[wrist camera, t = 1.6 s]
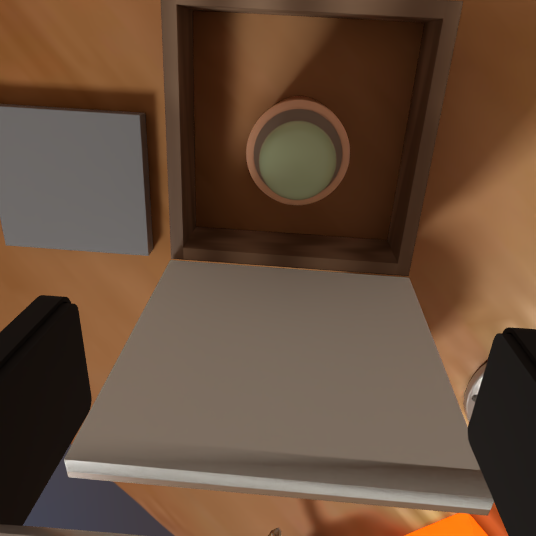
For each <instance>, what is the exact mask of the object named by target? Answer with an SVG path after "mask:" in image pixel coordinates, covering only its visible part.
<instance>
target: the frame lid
mask: <svg viewBox="0 0 536 536" xmlns="http://www.w3.org/2000/svg"><path fill="white" fill-rule="evenodd" d="M64 461H65V465H66V469H67V473H68V477H73V478H84V479H95V480H105V481H116V482H127V483H138V484H149V485H160V486H171V487H182V488H193V489H204V490H215V491H226V492H236V493H247V494H258V495H269V496H280V497H291V498H302V499H313V500H324V501H335V502H346V503H357V504H368V505H378V506H389V507H400V508H411V509H422V510H433V511H444V512H455V513H466V514H477V515H488V514H489V511H490V509H491V507H492V505H493V503H494V500H493V498H492V495H491V493H490V491H489V488H488V486H487V484H486V481H485V479H484V477H483V474H482V472H481V470H480V467H479V465H478V463H477V460H476V458H475V456H474V453H473V451H472V449H471V446H470V444H469V440H468V427H467V424H466V422H465V419H464V417H463V414H462V412H461V409H460V407H459V404H458V401H457V399H456V396H455V394H454V391H453V389H452V386H451V383H450V381H449V378H448V376H447V373H446V371H445V368H444V365H443V363H442V360H441V358H440V355H439V353H438V350H437V348H436V345H435V342H434V340H433V337H432V335H431V332H430V330H429V327H428V324H427V322H426V319H425V317H424V314H423V312H422V309H421V306H420V304H419V301H418V299H417V296H416V294H415V291H414V289H413V286H412V283H411V281H410V278H406V277H393V276H379V275H365V274H352V273H338V272H325V271H311V270H298V269H284V268H270V267H257V266H243V265H230V264H216V263H202V262H189V261H175V260H170V262H169V264H168V265H167V267H166V269H165V271H164V273H163V275H162V277H161V279H160V280H159V282H158V284H157V286H156V288H155V290H154V292H153V294H152V295H151V297H150V299H149V301H148V303H147V305H146V307H145V309H144V310H143V312H142V314H141V316H140V318H139V320H138V322H137V324H136V325H135V327H134V329H133V331H132V333H131V335H130V337H129V339H128V340H127V342H126V344H125V346H124V348H123V350H122V352H121V354H120V355H119V357H118V359H117V361H116V363H115V365H114V367H113V369H112V370H111V372H110V374H109V376H108V378H107V380H106V382H105V384H104V386H103V387H102V389H101V391H100V393H99V395H98V397H97V399H96V401H95V402H94V404H93V406H92V408H91V410H90V412H89V414H88V416H87V417H86V419H85V421H84V423H83V425H82V427H81V429H80V431H79V432H78V434H77V436H76V438H75V440H74V442H73V444H72V446H71V448H70V450H69V451H68V453H67V455H66V457H65V459H64Z"/></svg>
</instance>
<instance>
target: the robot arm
mask: <svg viewBox="0 0 536 536" xmlns="http://www.w3.org/2000/svg"><path fill="white" fill-rule="evenodd" d="M90 407H91V391H90V384H89V378H88V371H87V364H86V358H85V351H84V344H83V338H82V331H81V324H80V318H79V311H78V307H77V305H75V304H71V302H70V300H69V298H67V297H59V296H45V295H42V296H39V297H37V298H36V299H35V300H34V301H33V302H32V303H31V304H30V305H29V306H28V307H27V308H26V309H25V310H24V311H22V312H21V313H20V314H19V315H18V316H17V317H16V318H15V319H14V320H13V321H12V322H11V323H10V324H9V325H8V326H7V327H5V328H4V329H3V330H2V331H1V332H0V536H142V535H130V534H117V533H106V532H94V531H82V530H70V529H58V528H46V527H32V526H23V524H24V522H25V520H26V519H27V517H28V515H29V514H30V512H31V510H32V508H33V507H34V505H35V503H36V502H37V500H38V498H39V497H40V495H41V493H42V491H43V490H44V488H45V486H46V485H47V483H48V481H49V479H50V478H51V476H52V474H53V472H54V471H55V469H56V467H57V466H58V464H59V462H60V460H61V459H62V457H63V456H64V454H65V452H66V450H67V448H68V447H69V445H70V444H71V442H72V440H73V438H74V437H75V435H76V433H77V432H78V430H79V428H80V427H81V425H82V423H83V421H84V420H85V418H86V416H87V415H88V412H89V410H90ZM464 409H465V413H466V416H467V418H468V421H469V425H468V440H469V444H470V446H471V449H472V451H473V453H474V456H475V458H476V460H477V463H478V465H479V467H480V470H481V472H482V474H483V477H484V479H485V481H486V484H487V486H488V488H489V491H490V493H491V495H492V498H493V500H494V502H495V505H496V507H497V509H498V512H499V514H500V516H501V519H502V521H503V524H504V526H505V528H506V531H507V533H508V535H509V536H536V330H535V329H523V328H506V329H505V330H504V331H503V333H502V334H500V333H498V334H497V335H496V336H495V338H494V340H493V344H492V347H491V350H490V354H489V357H488V361H487V363H485V364H484V365H483V366H482V367H481V368H480V369H479V370H478V371H477V372H476V373H475V374H474V375H473V377H472V379H471V380H470V382H469V383H468V385H467V388H466V391H465V394H464Z"/></svg>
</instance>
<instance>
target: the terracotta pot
mask: <svg viewBox="0 0 536 536" xmlns="http://www.w3.org/2000/svg"><path fill="white" fill-rule="evenodd" d="M246 160H247V166H248V169H249V172H250V174H251V177H252V179H253V180H254V182H255V183H256V185H257V186H258V187H259V188H260V189H261V190H262V191H263V192H264V193H265V194H266V195H268V196H269V197H270V198H272V199H274V200H276V201H279V202H281V203H285V204H290V205H305V204H310V203H314V202H316V201H319V200H321V199H323V198H325V197H326V196H327V195H329V194H330V193H331V192H332V191H334V190H335V189H336V187H337V186H338V185H339V184H340V182H341V181H342V179H343V178H344V176H345V174H346V171H347V168H348V165H349V160H350V144H349V139H348V136H347V133H346V131H345V129H344V127H343V125H342V123H341V121H340V120H339V119H338V117H337V116H336V115H335V114H334V113H333V112H332V111H331V110H330V109H328V108H327V107H326V106H324V105H323V104H321V103H320V102H319V101H317V100H315V99H313V98H310V97H306V96H293V97H289V98H286V99H284V100H282V101H280V102H278V103H277V104H275V105H274V106H272V107H271V108H269V109H268V110H267V111H265V112H264V113H263V114H262V115H261V117H260V118H259V119H258V120H257V122H256V123H255V125H254V127H253V129H252V130H251V133H250V135H249V138H248V142H247V148H246Z"/></svg>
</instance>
